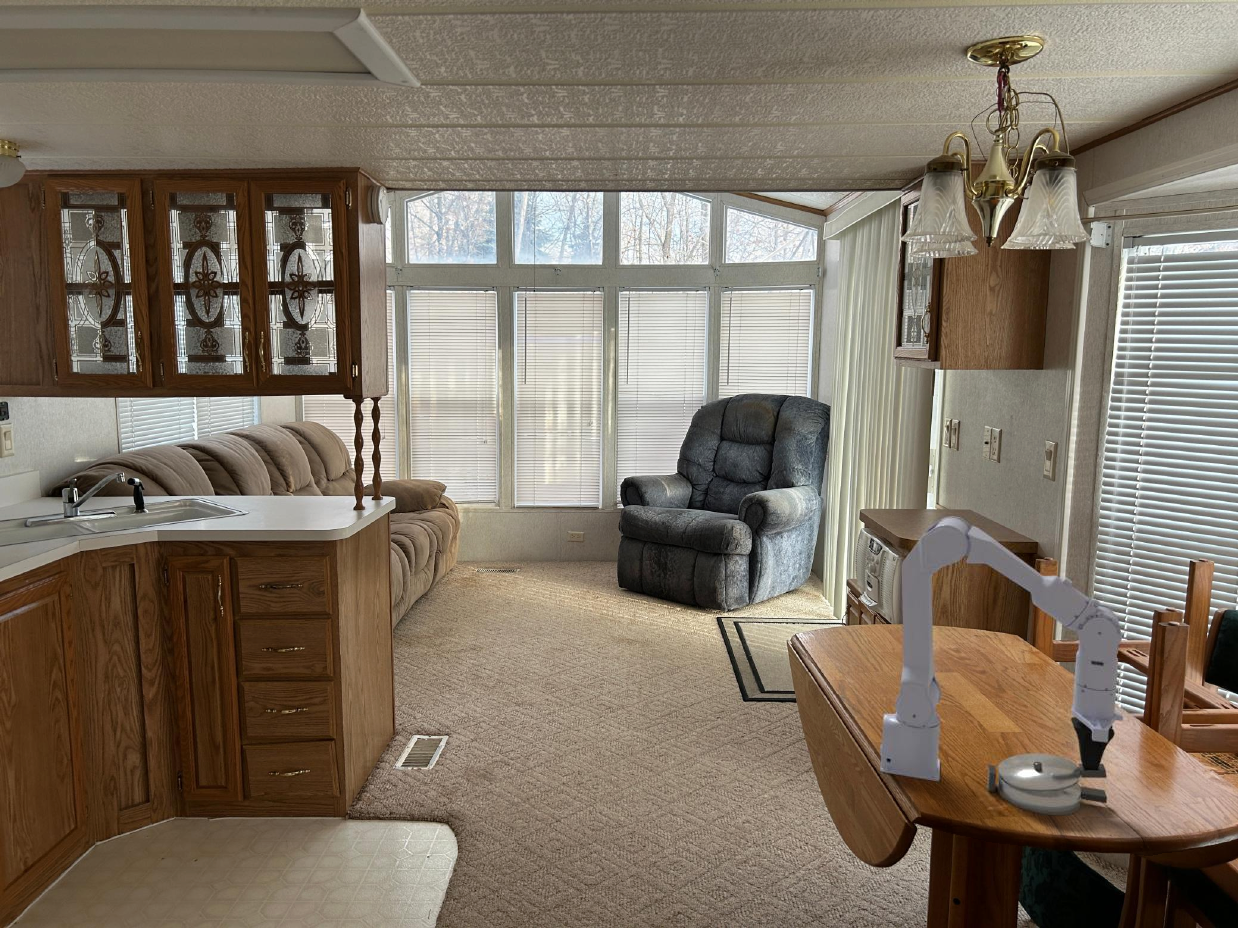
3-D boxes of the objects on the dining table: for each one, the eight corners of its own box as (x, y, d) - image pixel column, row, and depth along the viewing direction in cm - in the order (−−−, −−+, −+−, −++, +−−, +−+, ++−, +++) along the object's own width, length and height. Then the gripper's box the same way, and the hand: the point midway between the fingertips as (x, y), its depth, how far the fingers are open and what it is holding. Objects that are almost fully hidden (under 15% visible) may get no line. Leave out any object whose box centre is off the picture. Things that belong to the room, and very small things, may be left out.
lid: (1000, 790, 135) (999, 779, 135) (996, 757, 146) (995, 747, 146) (1112, 792, 129) (1110, 780, 129) (1099, 757, 140) (1097, 747, 140)
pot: (989, 804, 136) (990, 785, 135) (986, 770, 147) (987, 753, 146) (1111, 825, 130) (1112, 805, 129) (1098, 788, 141) (1099, 770, 140)
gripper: (1133, 704, 126) (1127, 792, 127) (1115, 671, 139) (1110, 750, 141) (1079, 698, 128) (1074, 784, 130) (1067, 666, 142) (1062, 744, 143)
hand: (1089, 766), depth 135 cm, fingers closed, pressing on lid
